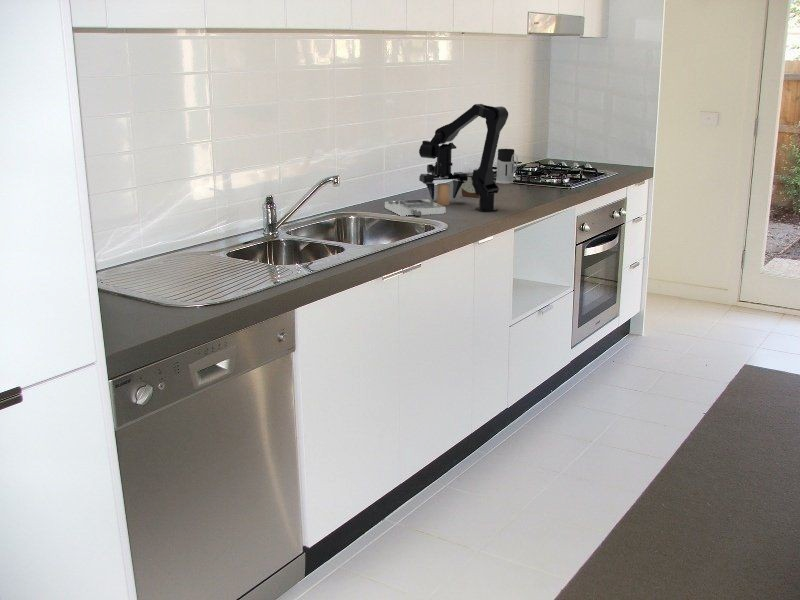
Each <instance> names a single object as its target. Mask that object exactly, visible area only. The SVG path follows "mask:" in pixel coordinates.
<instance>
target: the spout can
mask: <svg viewBox="0 0 800 600" xmlns="http://www.w3.org/2000/svg"><path fill="white" fill-rule="evenodd" d="M450 187H451V186H450V183H445V182H443V183H442V182H441V183H440V182H439V183H437V184H436V203H437V204H440V205H442V206H449V205H450V192H451V191H450V189H451V188H450Z"/></svg>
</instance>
